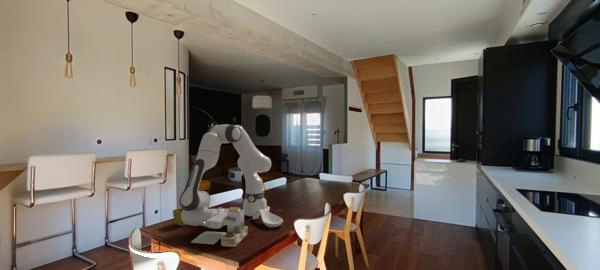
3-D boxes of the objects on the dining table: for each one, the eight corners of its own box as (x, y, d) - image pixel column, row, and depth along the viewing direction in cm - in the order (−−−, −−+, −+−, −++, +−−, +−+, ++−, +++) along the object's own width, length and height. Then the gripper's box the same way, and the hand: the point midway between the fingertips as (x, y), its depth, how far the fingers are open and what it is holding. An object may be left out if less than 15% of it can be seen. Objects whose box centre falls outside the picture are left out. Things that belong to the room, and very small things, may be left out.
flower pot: (185, 221, 168) (185, 206, 168) (194, 223, 164) (194, 208, 164) (172, 225, 161) (172, 210, 161) (181, 228, 156) (181, 212, 156)
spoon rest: (287, 226, 160) (287, 214, 160) (271, 231, 152) (271, 218, 152) (262, 217, 177) (262, 206, 177) (247, 221, 169) (246, 209, 169)
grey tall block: (231, 227, 144) (231, 206, 144) (244, 228, 143) (244, 207, 143) (227, 231, 139) (227, 209, 139) (240, 232, 138) (240, 209, 138)
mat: (205, 232, 150) (205, 231, 150) (226, 233, 148) (226, 232, 148) (191, 242, 136) (191, 241, 136) (213, 244, 134) (213, 243, 134)
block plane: (235, 232, 149) (235, 222, 149) (247, 233, 148) (247, 223, 148) (221, 245, 133) (221, 234, 133) (234, 246, 131) (234, 235, 131)
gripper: (201, 218, 133) (227, 219, 131) (220, 206, 153) (243, 207, 151) (201, 231, 133) (227, 232, 131) (220, 217, 154) (244, 218, 151)
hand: (236, 219), depth 141 cm, fingers open, 8 cm apart
